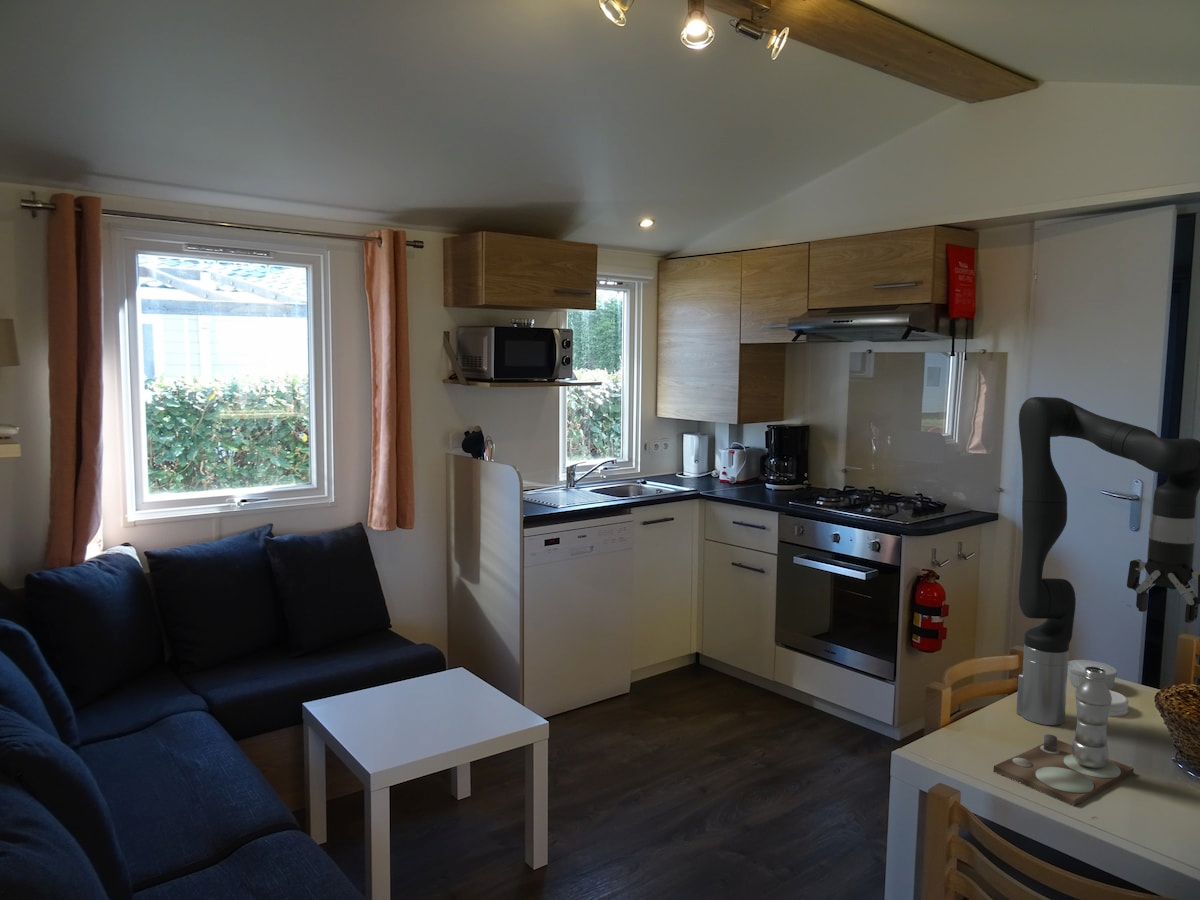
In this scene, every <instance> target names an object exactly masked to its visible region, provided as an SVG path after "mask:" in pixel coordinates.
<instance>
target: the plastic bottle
mask: <svg viewBox="0 0 1200 900" xmlns="http://www.w3.org/2000/svg"><path fill="white" fill-rule="evenodd" d="M1105 674H1106V672H1105V670H1104V669H1102V668H1098V667H1086V668H1085V674H1084V678H1085V680H1084V681H1083V682H1082V683H1081V684H1080V685H1079V686H1078V687H1077V688H1076V690H1075V703H1076V718H1077V719H1076V727H1075V734H1074V739H1073V741H1072V742H1073V743H1072V744H1071V745H1072V754H1073V757H1074V759H1075V761H1076V762H1077V763H1079V764H1081V765H1083V766H1086V767H1090V768H1102V767H1103V766H1105V765H1106V764H1107V761H1108V759H1109V757H1110V755H1109V748H1108V747H1109V746H1108V733H1107V732H1108V731H1107V728H1108V720H1109V716H1108V715H1109V710H1110V706H1111V702H1112V697H1111V693H1110V691H1109V689H1108V688H1107V686H1106V685H1105V684H1104V681H1106V677H1105Z"/></svg>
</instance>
